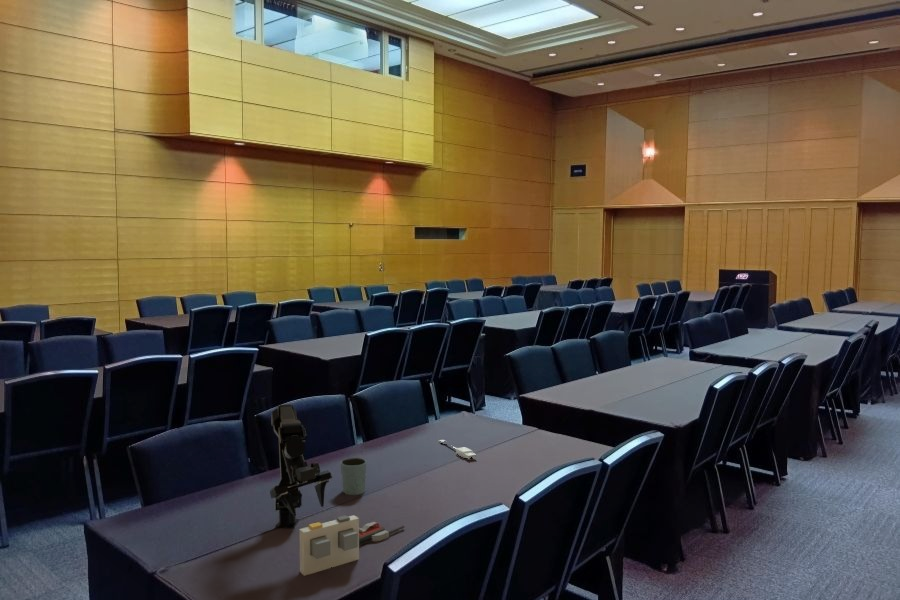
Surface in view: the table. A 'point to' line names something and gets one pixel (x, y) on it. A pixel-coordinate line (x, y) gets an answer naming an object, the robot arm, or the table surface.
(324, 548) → the grey rectangular block
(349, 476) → the grey green cup
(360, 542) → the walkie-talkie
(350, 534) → the button dark
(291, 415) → the robot arm
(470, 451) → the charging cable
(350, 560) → the console
